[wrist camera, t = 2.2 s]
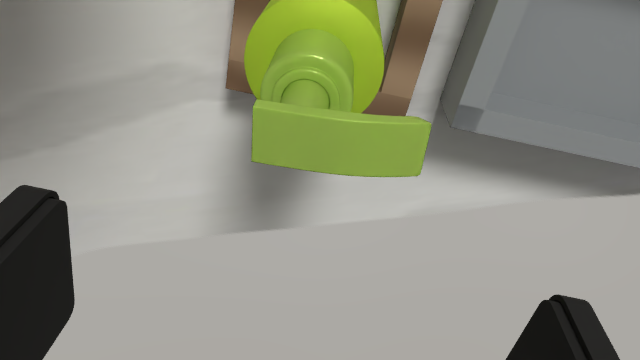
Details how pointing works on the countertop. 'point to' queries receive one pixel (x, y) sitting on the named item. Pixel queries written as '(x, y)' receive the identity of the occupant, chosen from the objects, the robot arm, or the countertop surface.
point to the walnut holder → (399, 63)
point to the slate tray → (551, 76)
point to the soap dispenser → (326, 92)
